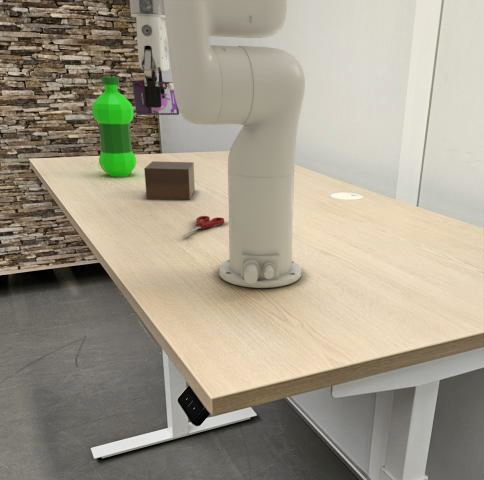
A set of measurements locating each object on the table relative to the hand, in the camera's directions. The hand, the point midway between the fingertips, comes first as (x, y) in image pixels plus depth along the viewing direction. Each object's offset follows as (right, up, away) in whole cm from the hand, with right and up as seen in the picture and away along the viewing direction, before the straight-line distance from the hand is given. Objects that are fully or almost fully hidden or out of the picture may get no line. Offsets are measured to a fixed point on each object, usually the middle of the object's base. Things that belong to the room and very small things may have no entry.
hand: (155, 105), depth 123 cm
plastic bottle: (-19, -6, +36) cm, 41 cm away
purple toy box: (0, -2, +1) cm, 2 cm away
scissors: (+11, -29, -13) cm, 34 cm away
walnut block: (0, -16, +15) cm, 22 cm away
